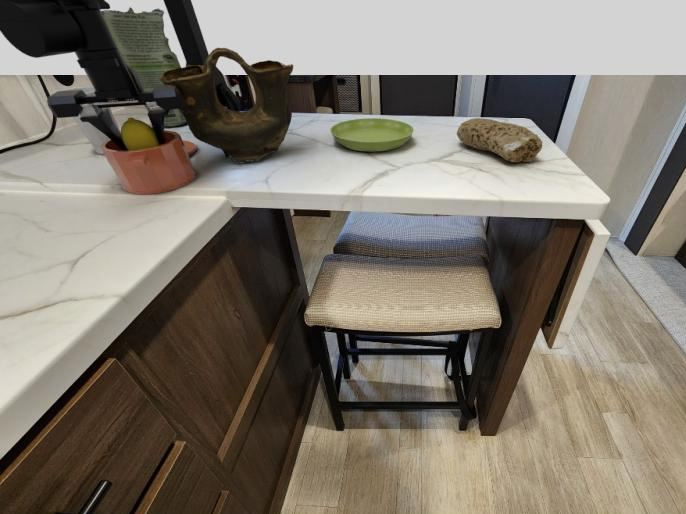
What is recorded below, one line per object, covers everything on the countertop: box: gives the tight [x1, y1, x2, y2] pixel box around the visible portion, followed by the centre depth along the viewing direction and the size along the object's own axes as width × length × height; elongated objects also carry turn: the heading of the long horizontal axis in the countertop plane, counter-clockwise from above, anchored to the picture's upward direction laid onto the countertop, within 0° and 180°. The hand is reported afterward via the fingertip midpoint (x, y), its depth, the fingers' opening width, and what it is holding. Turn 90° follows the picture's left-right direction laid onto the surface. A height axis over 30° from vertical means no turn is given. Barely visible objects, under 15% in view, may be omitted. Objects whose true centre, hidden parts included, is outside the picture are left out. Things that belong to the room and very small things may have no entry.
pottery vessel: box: [159, 47, 294, 164], centre depth 69 cm, size 25×11×20 cm, turn 116°
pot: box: [99, 129, 197, 195], centre depth 63 cm, size 13×18×8 cm
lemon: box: [120, 117, 160, 151], centre depth 60 cm, size 6×6×8 cm
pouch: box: [101, 6, 187, 127], centre depth 86 cm, size 11×12×25 cm
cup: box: [59, 86, 121, 155], centre depth 74 cm, size 8×8×12 cm
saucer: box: [329, 117, 415, 153], centre depth 83 cm, size 21×21×3 cm
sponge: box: [456, 117, 543, 163], centre depth 77 cm, size 13×8×20 cm
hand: (147, 152), depth 62 cm, fingers closed on lemon, 5 cm apart
